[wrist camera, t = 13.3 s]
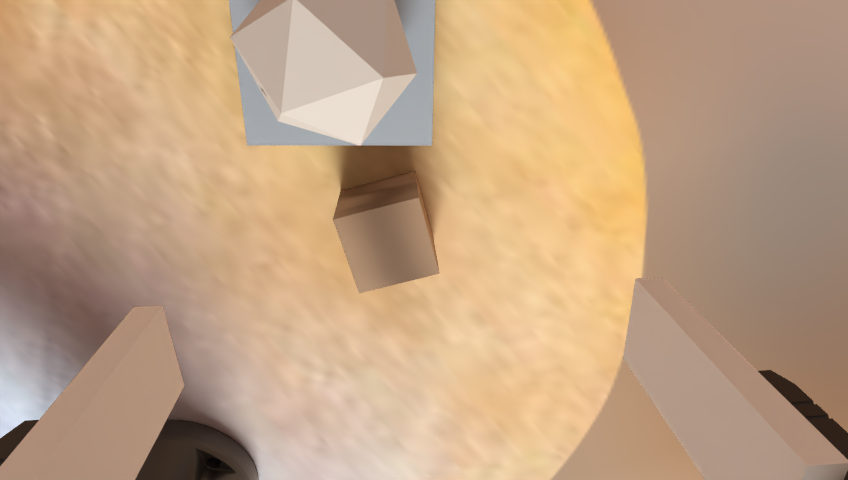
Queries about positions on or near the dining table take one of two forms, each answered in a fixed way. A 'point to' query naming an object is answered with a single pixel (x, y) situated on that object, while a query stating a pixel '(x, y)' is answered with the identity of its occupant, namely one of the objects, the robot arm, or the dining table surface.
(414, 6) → the plinth
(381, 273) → the walnut cube
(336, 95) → the die
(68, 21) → the dining table surface
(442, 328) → the dining table surface
